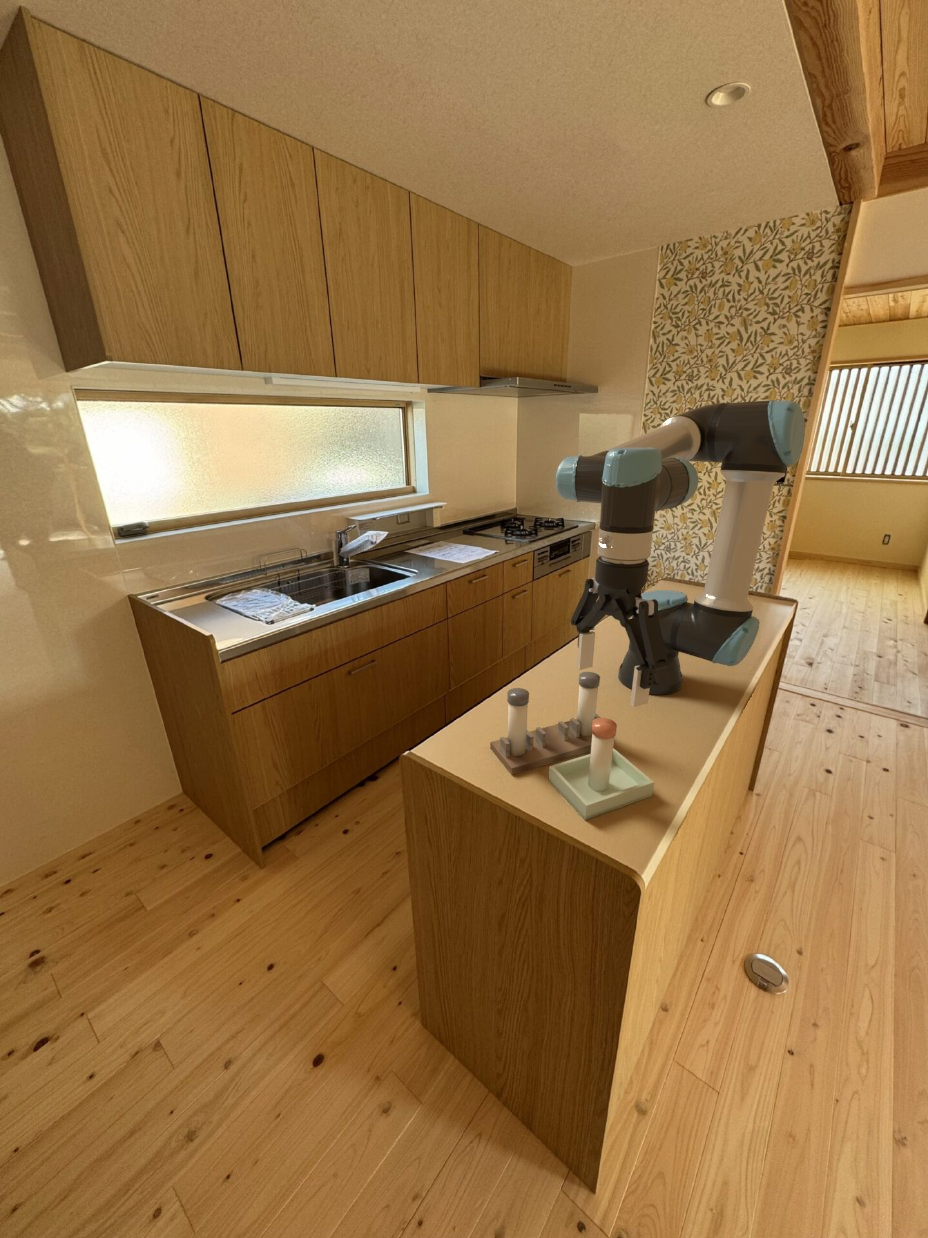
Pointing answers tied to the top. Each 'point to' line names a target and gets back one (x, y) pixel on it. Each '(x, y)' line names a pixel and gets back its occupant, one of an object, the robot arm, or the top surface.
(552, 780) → the tray
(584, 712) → the fuse
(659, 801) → the top surface
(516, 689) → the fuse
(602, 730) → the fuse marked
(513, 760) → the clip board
